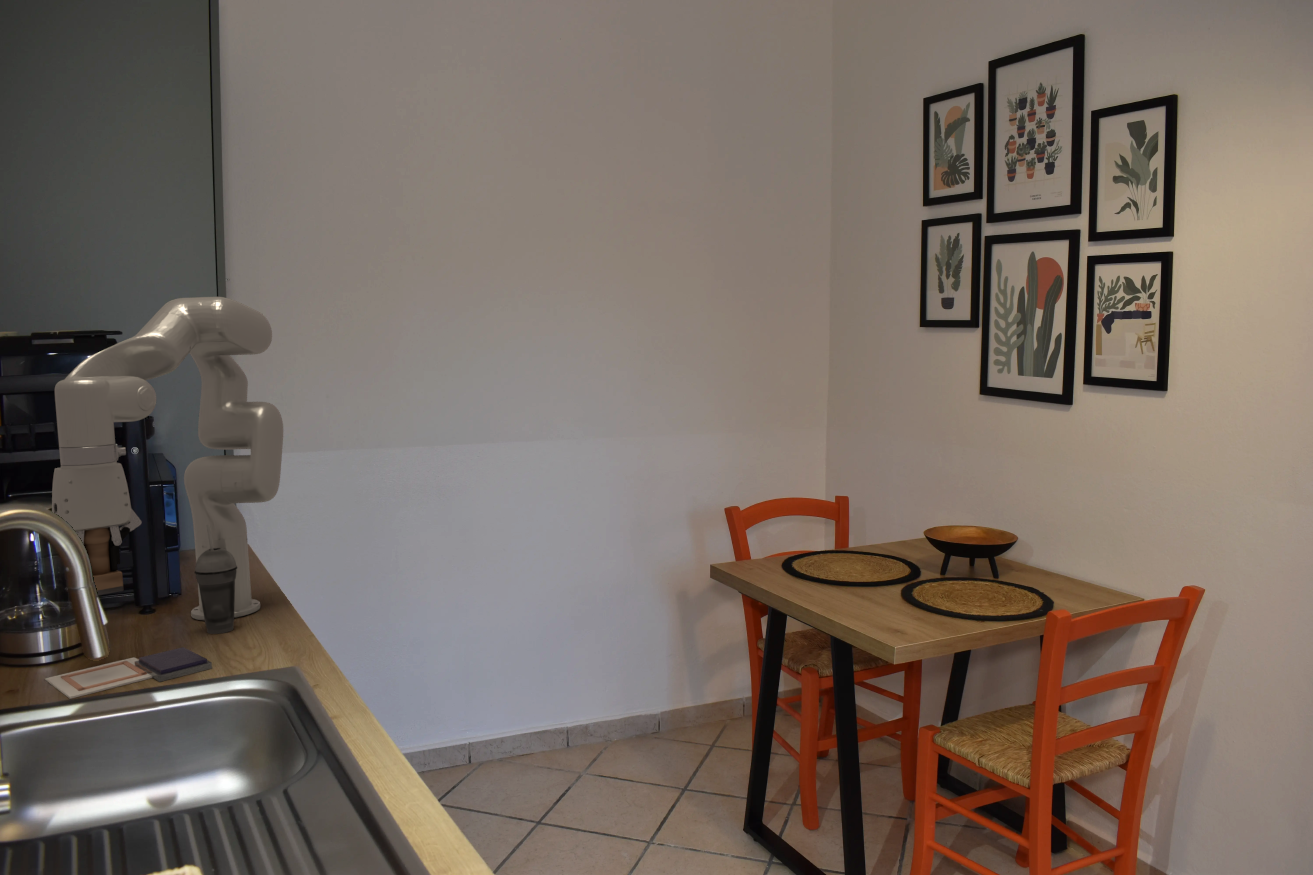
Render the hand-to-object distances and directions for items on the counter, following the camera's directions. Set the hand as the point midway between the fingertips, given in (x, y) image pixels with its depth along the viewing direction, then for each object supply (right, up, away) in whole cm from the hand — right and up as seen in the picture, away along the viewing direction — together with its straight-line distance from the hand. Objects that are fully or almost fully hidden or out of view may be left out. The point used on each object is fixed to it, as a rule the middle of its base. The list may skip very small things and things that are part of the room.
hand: (97, 571), depth 146 cm
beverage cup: (+7, -15, +26) cm, 31 cm away
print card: (0, -17, +1) cm, 17 cm away
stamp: (0, -3, 0) cm, 3 cm away
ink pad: (+9, -17, +5) cm, 20 cm away
